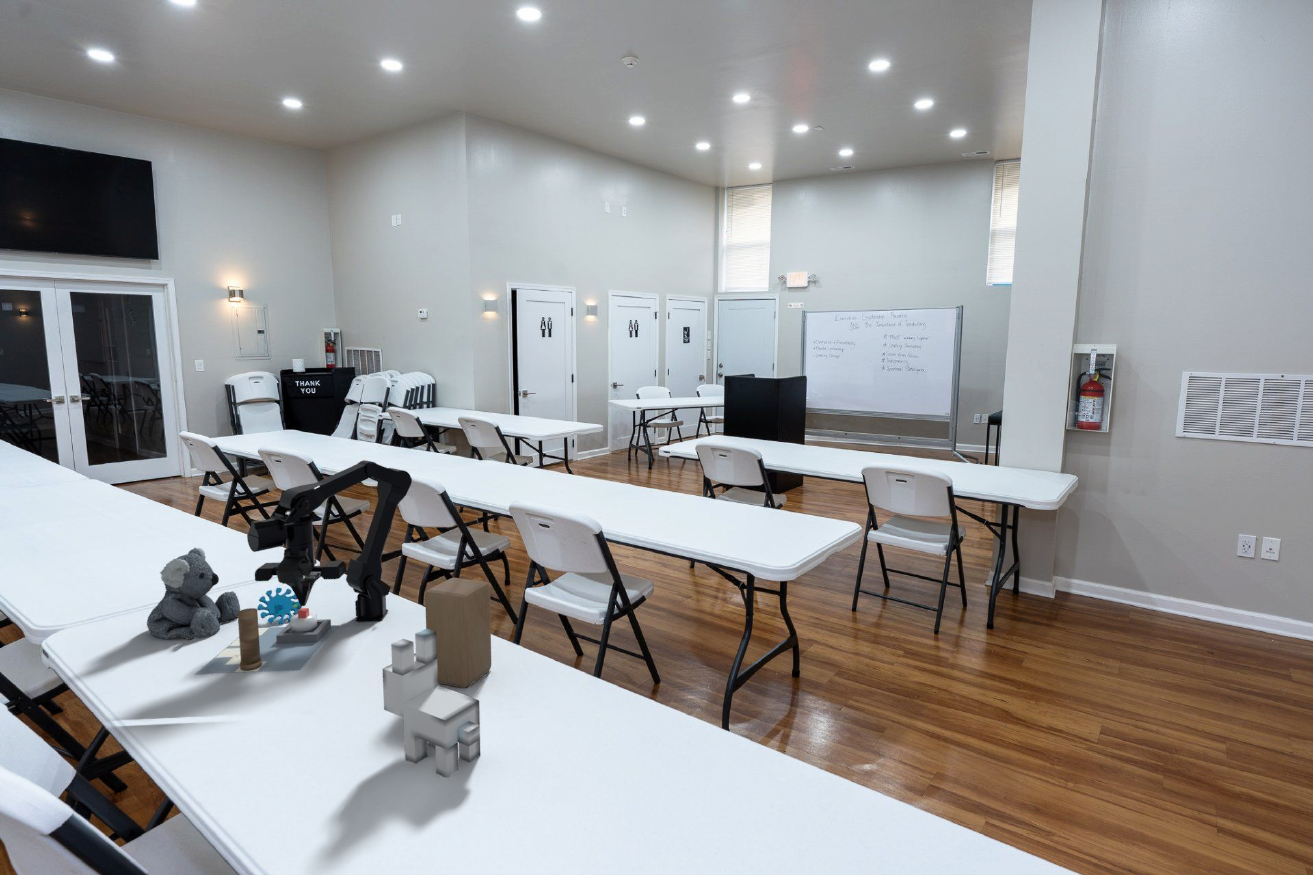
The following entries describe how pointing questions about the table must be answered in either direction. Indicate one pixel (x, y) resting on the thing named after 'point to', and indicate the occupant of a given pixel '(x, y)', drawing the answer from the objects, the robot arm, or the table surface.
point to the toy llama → (430, 706)
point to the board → (275, 649)
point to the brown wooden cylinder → (249, 639)
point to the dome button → (303, 620)
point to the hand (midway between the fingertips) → (303, 605)
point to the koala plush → (190, 600)
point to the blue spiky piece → (279, 605)
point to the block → (460, 629)
